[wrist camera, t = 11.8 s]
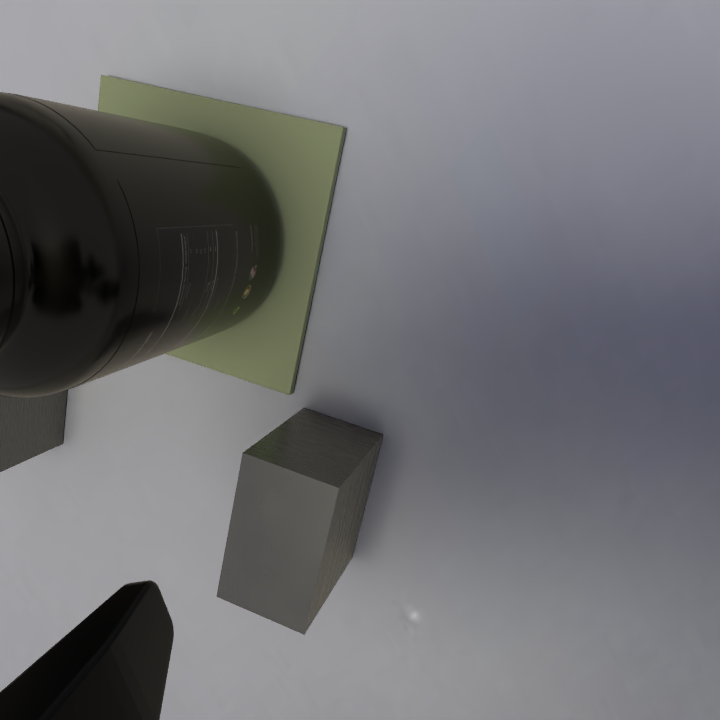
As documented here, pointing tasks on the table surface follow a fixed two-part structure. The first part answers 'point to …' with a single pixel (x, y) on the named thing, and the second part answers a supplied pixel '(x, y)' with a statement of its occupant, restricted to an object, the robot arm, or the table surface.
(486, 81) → the table surface
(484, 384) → the table surface
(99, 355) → the supplement bottle
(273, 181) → the mat
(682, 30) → the table surface
